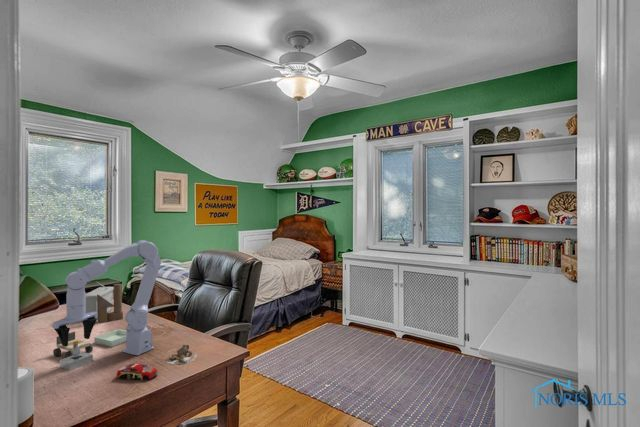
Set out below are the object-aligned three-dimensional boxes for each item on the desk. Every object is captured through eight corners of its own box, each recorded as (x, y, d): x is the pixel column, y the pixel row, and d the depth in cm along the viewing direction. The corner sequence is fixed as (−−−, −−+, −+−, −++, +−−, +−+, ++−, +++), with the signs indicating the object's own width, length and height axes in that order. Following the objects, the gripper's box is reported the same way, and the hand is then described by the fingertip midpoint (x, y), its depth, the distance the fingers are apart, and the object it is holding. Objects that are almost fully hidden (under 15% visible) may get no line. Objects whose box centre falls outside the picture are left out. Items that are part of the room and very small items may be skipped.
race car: (160, 374, 120) (160, 362, 120) (151, 382, 115) (152, 370, 115) (124, 372, 121) (124, 361, 121) (114, 380, 116) (114, 368, 116)
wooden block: (97, 321, 174) (97, 286, 174) (121, 317, 182) (120, 283, 181) (99, 323, 171) (98, 287, 171) (123, 318, 179) (122, 284, 179)
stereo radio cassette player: (98, 310, 195) (98, 274, 194) (114, 309, 196) (114, 274, 196) (80, 322, 174) (79, 282, 174) (98, 321, 175) (97, 281, 175)
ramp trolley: (92, 351, 138) (92, 334, 138) (69, 360, 130) (69, 342, 130) (77, 347, 142) (77, 330, 142) (53, 355, 134) (53, 337, 134)
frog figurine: (173, 352, 139) (173, 342, 139) (202, 353, 138) (202, 343, 138) (158, 365, 128) (157, 354, 127) (189, 366, 127) (189, 355, 127)
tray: (135, 338, 152) (135, 332, 152) (111, 347, 142) (111, 341, 142) (118, 334, 157) (118, 328, 157) (94, 343, 147) (94, 337, 147)
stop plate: (92, 361, 129) (92, 354, 129) (69, 370, 122) (69, 363, 122) (82, 358, 132) (82, 351, 132) (59, 367, 125) (59, 360, 124)
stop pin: (81, 363, 127) (80, 341, 127) (75, 365, 126) (75, 343, 125) (77, 362, 128) (77, 340, 128) (71, 364, 126) (71, 342, 126)
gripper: (89, 299, 135) (89, 333, 135) (47, 308, 122) (47, 347, 122) (101, 301, 132) (101, 336, 132) (59, 311, 119) (59, 350, 119)
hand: (76, 342), depth 127 cm, fingers open, 7 cm apart
